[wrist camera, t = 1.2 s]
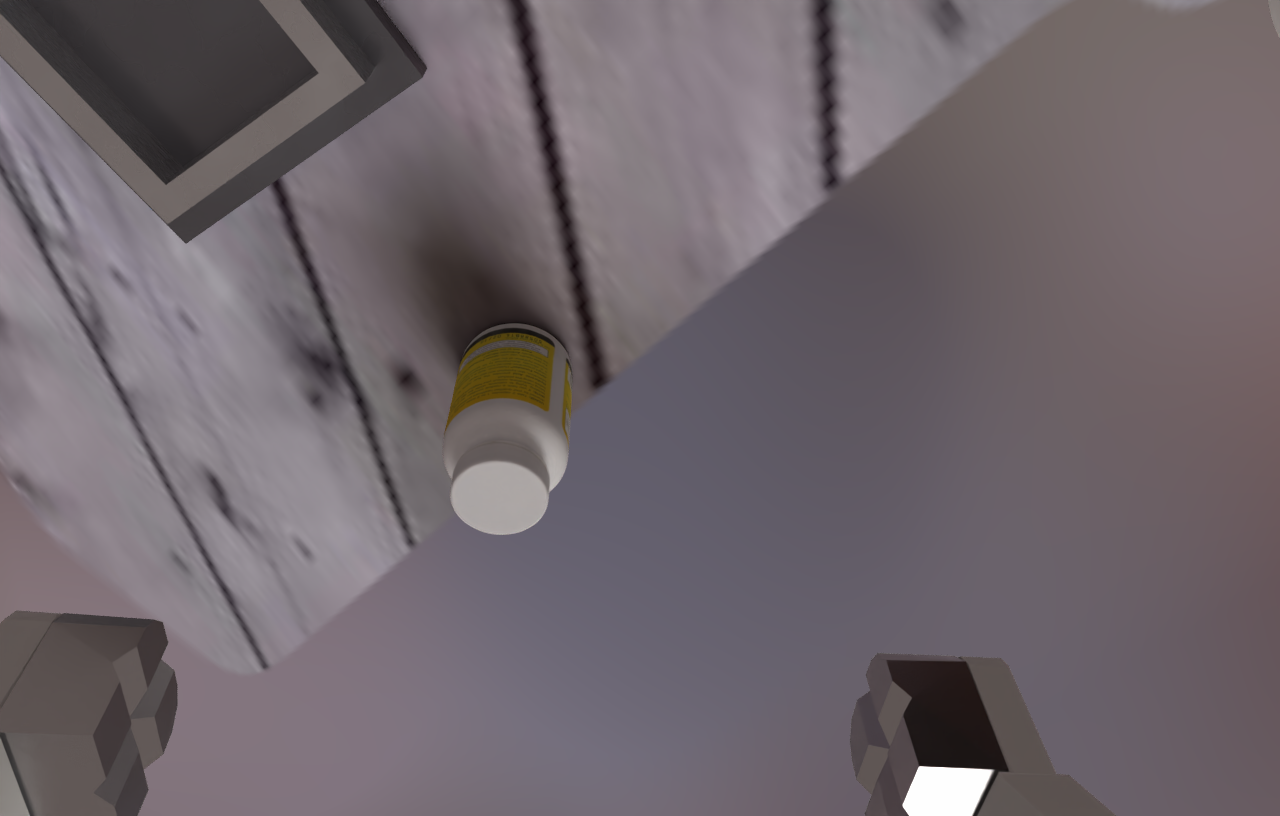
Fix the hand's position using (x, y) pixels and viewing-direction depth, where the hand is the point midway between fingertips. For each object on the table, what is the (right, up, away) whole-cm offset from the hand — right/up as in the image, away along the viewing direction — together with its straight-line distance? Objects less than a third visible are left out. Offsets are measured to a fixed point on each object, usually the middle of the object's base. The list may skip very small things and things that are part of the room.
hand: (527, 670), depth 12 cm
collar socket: (-16, +18, +28) cm, 37 cm away
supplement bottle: (-5, +5, +37) cm, 38 cm away
